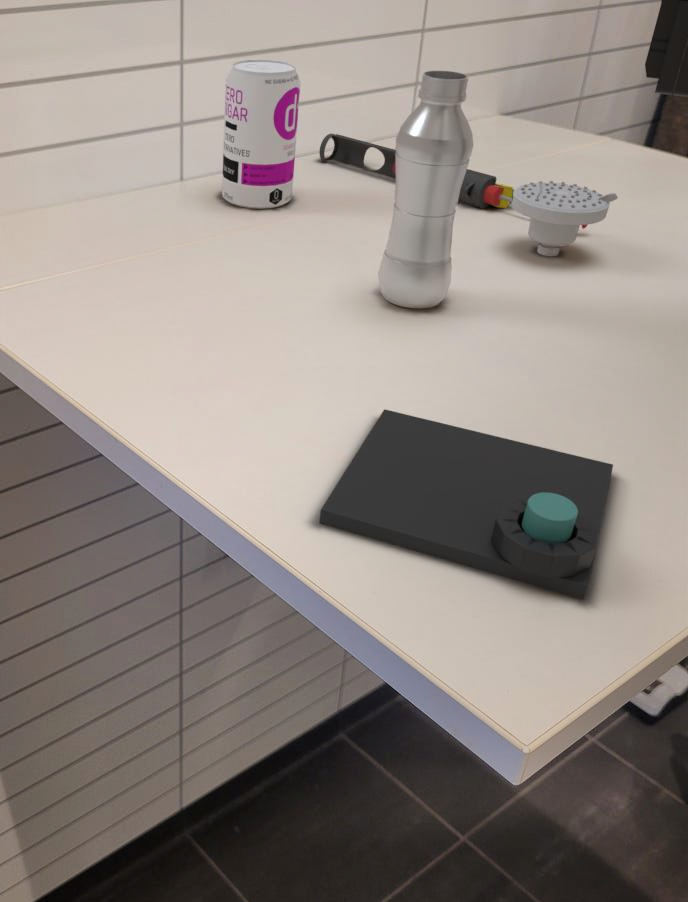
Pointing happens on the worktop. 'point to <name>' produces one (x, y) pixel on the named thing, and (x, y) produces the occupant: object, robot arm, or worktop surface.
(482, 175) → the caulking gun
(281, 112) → the supplement can
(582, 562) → the scale
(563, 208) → the showerhead
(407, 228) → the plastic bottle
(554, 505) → the button
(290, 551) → the worktop surface
